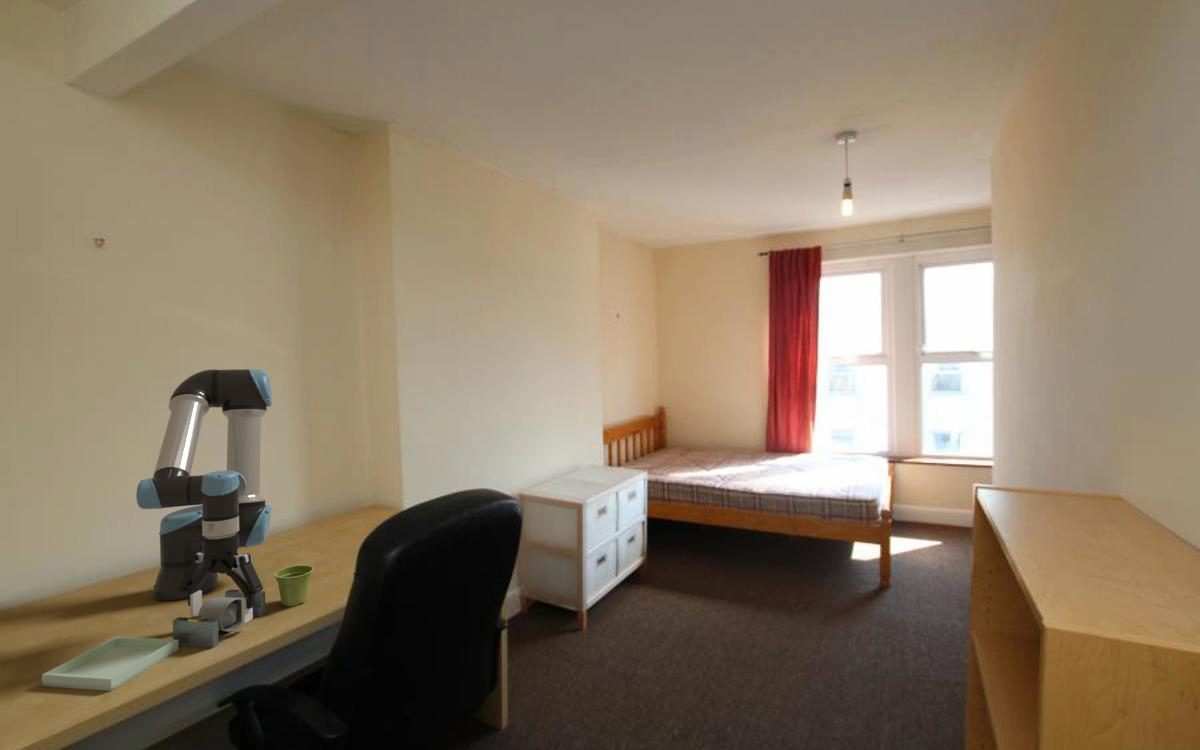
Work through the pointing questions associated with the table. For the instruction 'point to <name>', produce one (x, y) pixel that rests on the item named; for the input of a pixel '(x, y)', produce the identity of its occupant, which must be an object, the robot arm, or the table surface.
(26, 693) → the table surface
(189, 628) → the grey cases
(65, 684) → the tray
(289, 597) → the plant pot
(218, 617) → the ceramic mug
